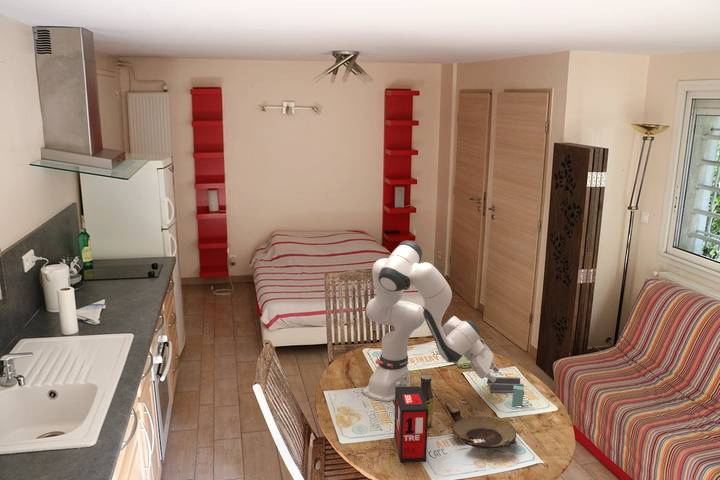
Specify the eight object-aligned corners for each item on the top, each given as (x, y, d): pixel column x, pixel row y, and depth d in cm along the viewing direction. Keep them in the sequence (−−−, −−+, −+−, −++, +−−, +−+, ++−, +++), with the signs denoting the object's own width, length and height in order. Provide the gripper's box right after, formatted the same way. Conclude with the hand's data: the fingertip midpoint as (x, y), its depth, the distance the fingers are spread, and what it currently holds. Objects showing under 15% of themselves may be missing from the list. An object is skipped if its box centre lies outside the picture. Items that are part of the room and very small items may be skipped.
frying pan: (474, 466, 203) (475, 446, 201) (434, 422, 230) (435, 404, 229) (529, 453, 210) (531, 434, 208) (484, 412, 238) (485, 395, 236)
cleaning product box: (394, 436, 220) (395, 386, 216) (417, 435, 221) (419, 386, 216) (400, 462, 204) (402, 410, 200) (426, 461, 205) (428, 409, 200)
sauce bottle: (427, 431, 224) (429, 382, 219) (412, 426, 227) (414, 378, 223) (435, 423, 229) (436, 375, 225) (420, 418, 233) (422, 371, 228)
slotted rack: (490, 393, 253) (491, 385, 252) (486, 382, 263) (487, 375, 262) (523, 394, 253) (524, 386, 252) (518, 383, 262) (519, 376, 262)
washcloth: (493, 366, 280) (494, 359, 280) (459, 370, 275) (460, 364, 275) (480, 354, 293) (480, 348, 292) (447, 359, 288) (447, 352, 287)
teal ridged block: (511, 406, 243) (513, 388, 241) (512, 402, 245) (513, 385, 244) (522, 408, 241) (523, 390, 240) (522, 404, 244) (523, 386, 242)
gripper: (475, 355, 233) (498, 382, 232) (482, 337, 252) (504, 361, 251) (463, 364, 235) (486, 391, 234) (471, 345, 254) (493, 370, 253)
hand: (496, 376), depth 243 cm, fingers open, 8 cm apart
